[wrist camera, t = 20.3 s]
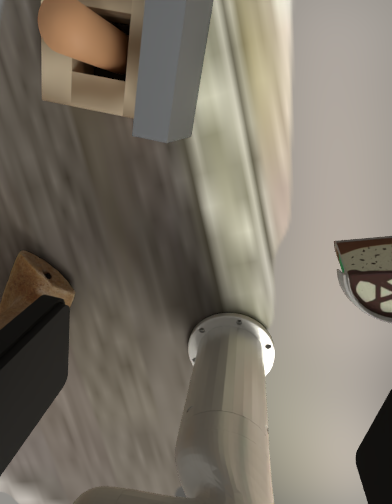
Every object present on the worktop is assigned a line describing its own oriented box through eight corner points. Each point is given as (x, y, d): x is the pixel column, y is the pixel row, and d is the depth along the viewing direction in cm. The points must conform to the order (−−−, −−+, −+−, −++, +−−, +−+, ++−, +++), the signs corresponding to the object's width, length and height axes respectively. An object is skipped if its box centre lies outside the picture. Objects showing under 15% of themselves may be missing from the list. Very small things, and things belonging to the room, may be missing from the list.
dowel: (135, 77, 36) (85, 58, 26) (101, 71, 37) (38, 49, 26) (139, 36, 35) (88, -4, 24) (103, 29, 35) (37, -12, 24)
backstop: (191, 136, 38) (166, 142, 27) (166, 131, 38) (132, 135, 27) (214, -10, 32) (196, -77, 21) (185, -15, 33) (153, -84, 22)
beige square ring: (164, 122, 38) (152, 122, 33) (66, 102, 38) (41, 99, 34) (181, -4, 33) (169, -24, 28) (69, -23, 34) (40, -46, 29)
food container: (321, 286, 42) (341, 332, 33) (321, 242, 40) (342, 278, 31) (427, 279, 40) (480, 327, 31) (432, 232, 38) (491, 268, 29)
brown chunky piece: (63, 353, 54) (-1, 433, 40) (-1, 315, 53) (-89, 384, 39) (100, 287, 48) (39, 354, 34) (28, 243, 47) (-64, 294, 33)
